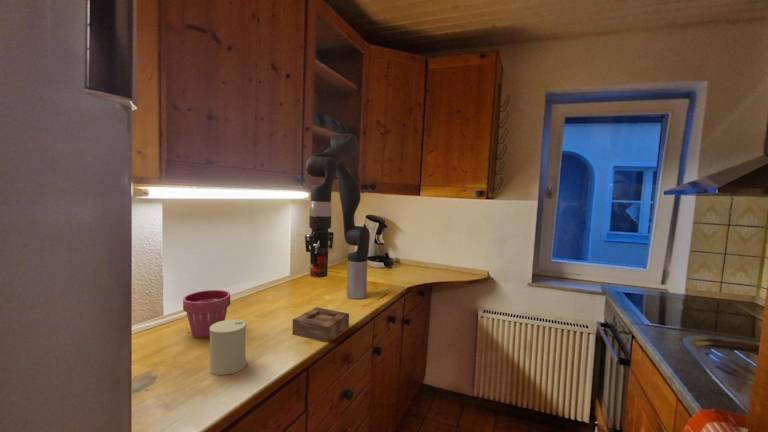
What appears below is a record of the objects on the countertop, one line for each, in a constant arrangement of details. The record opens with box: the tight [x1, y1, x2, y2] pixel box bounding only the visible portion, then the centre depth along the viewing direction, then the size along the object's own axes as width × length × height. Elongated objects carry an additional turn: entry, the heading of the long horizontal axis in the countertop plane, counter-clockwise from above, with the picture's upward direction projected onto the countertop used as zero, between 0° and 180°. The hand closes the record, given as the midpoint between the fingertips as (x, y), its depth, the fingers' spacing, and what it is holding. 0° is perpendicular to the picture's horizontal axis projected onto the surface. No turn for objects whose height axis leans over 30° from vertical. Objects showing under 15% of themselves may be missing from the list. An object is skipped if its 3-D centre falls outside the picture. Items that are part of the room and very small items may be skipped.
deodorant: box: [309, 233, 329, 279], centre depth 118 cm, size 6×6×15 cm
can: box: [208, 319, 247, 376], centre depth 93 cm, size 9×9×12 cm
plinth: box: [292, 306, 350, 343], centre depth 119 cm, size 14×14×5 cm
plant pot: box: [182, 289, 231, 339], centre depth 114 cm, size 14×14×13 cm
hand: (319, 262), depth 118 cm, fingers closed on deodorant, 6 cm apart
